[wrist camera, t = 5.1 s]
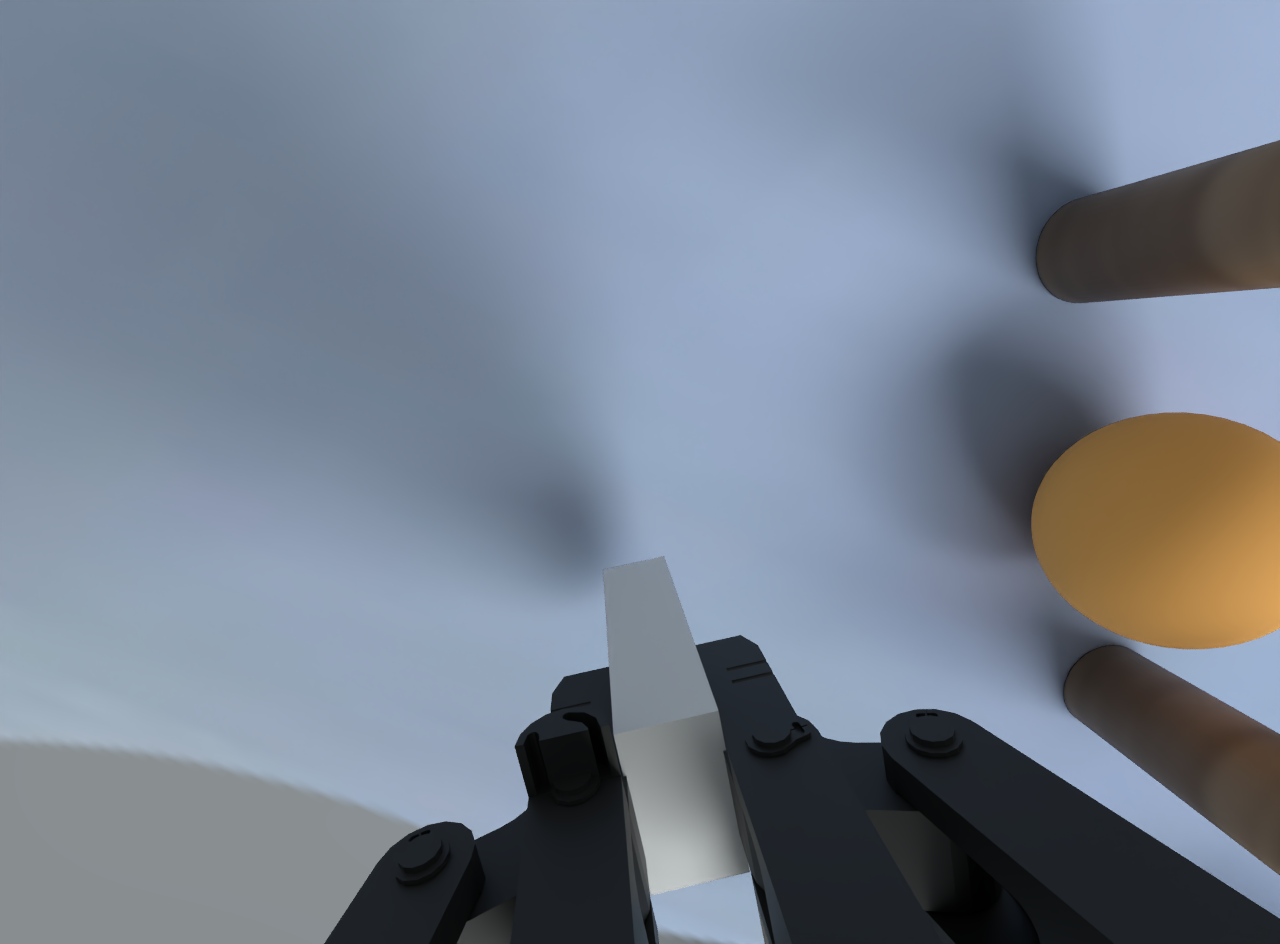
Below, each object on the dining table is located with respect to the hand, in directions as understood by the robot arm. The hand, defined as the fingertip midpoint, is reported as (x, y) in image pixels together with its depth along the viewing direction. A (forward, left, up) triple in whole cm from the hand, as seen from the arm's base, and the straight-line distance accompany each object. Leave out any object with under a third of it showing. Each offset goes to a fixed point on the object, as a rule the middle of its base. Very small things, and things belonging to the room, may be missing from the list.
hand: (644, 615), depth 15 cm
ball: (+12, 0, +1) cm, 13 cm away
